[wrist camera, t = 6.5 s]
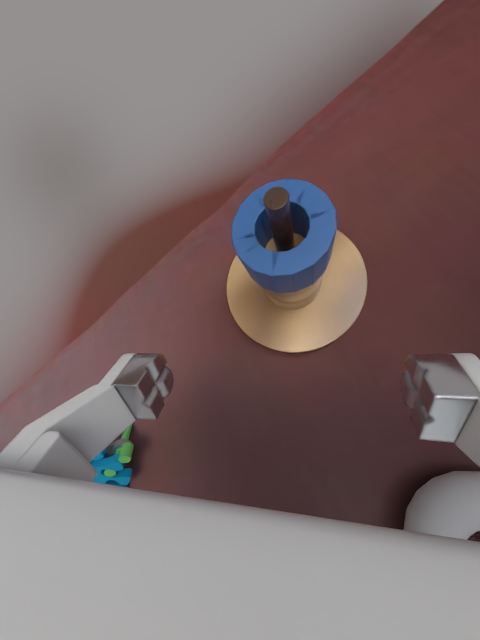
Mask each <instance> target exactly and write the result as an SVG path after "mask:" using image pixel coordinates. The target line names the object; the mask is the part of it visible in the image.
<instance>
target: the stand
mask: <svg viewBox="0 0 480 640" xmlns="http://www.w3.org/2000/svg"><path fill="white" fill-rule="evenodd" d="M263 202H264V206H265V210H266V213H267V217H268V221H269V224H270V228H271V232H272V235H273V238H272V239H271V240H270V241H269V242H268V243H267V245H266V248H265V249H268V250H271V251H274V252H282V251H289V250H291V249H293V248H295V247H297V246H298V245H299V244H300V243H301V242H302V241H303V240H304V239H305V238H304V237H303V236H301V235H300V234H298V233H294V232H293V227H292V218H291V209H290V200H289V193H288V191H287V190H286V189H285V188H283V187H273V188H271V189H269V190H268V191H267V192H266V193H265V195H264V198H263ZM367 285H368V280H367V272H366V268H365V264H364V261H363V259H362V256H361V254H360V253H359V251H358V249H357V248H356V247H355V245H354V244H353V243H352V242H351V240H349V239H348V238H347V237H346V236H345V235H344V234H343V233H341V232H340V231H338V230H336V235H335V240H334V245H333V250H332V254H331V258H330V261H329V263H328V266H327V268H326V271H325V272H324V274H323V275H322V276H321V277H320V278H319V279H318V280H317V281H316V282H315V283H314V284H313V285H311V286H309V287H307V288H304V289H302V290H300V291H298V292H294V293H276V292H273V291H270V290H267V289H264V288H263V287H261V286H260V285H259V284H258V283H257V282H255V281H254V280H253V279H252V278H251V276H250V275H249V273H248V272H247V270H246V268H245V267H244V265H243V264H242V262H241V261H240V259H239V258H238V256H237V255H236V257H235V259H234V260H233V263H232V265H231V268H230V271H229V274H228V280H227V299H228V304H229V308H230V310H231V313H232V315H233V317H234V319H235V321H236V322H237V324H238V325H239V327H240V328H241V329H242V330H243V331H244V332H245V333H246V334H247V335H248V336H249V337H250V338H251V339H253V340H254V341H256V342H257V343H259V344H261V345H263V346H265V347H267V348H270V349H272V350H276V351H280V352H286V353H303V352H310V351H313V350H317V349H320V348H322V347H325V346H327V345H329V344H330V343H332V342H334V341H336V340H337V339H338V338H339V337H341V336H342V335H343V334H344V333H345V332H346V331H347V330H348V329H349V328H350V327H351V326H352V325H353V323H354V322H355V321H356V319H357V318H358V316H359V314H360V312H361V310H362V308H363V305H364V303H365V299H366V294H367Z"/></svg>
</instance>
